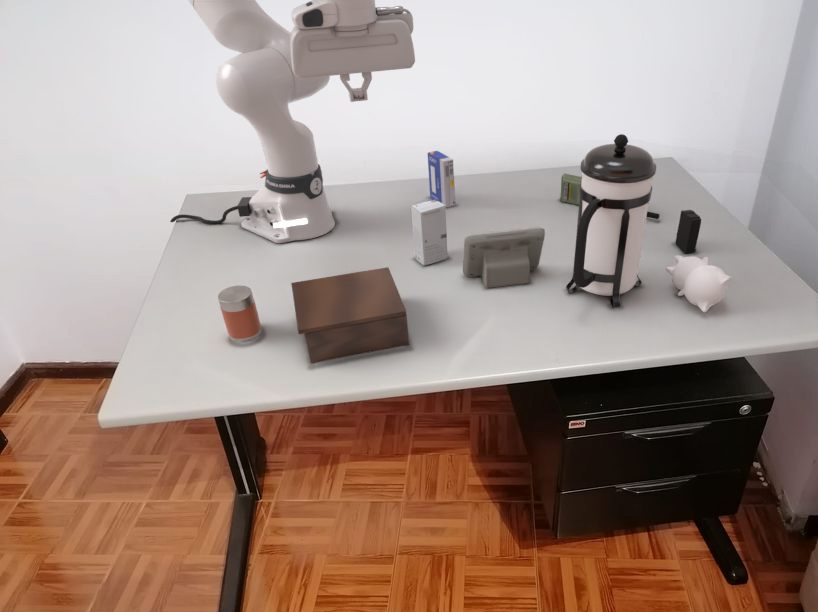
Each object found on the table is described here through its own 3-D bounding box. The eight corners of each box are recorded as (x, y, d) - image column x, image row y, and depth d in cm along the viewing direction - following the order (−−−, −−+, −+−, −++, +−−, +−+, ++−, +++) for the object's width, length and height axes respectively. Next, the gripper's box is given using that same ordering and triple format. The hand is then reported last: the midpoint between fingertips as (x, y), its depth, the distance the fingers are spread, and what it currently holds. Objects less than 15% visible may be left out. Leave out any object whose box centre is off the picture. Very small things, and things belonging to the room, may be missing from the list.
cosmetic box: (424, 266, 133) (420, 213, 126) (413, 258, 136) (409, 205, 129) (449, 258, 136) (446, 205, 129) (438, 250, 139) (435, 198, 132)
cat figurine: (680, 240, 120) (720, 267, 110) (715, 259, 125) (756, 287, 116) (653, 279, 123) (689, 309, 113) (688, 296, 128) (726, 326, 119)
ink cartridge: (695, 253, 135) (702, 218, 130) (685, 254, 135) (692, 219, 130) (684, 242, 139) (691, 208, 134) (675, 243, 139) (681, 209, 134)
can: (223, 340, 113) (210, 297, 108) (246, 324, 117) (234, 282, 112) (247, 349, 111) (234, 305, 106) (269, 332, 115) (258, 289, 110)
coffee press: (553, 272, 130) (562, 123, 112) (630, 267, 131) (651, 119, 113) (570, 318, 116) (584, 157, 98) (656, 313, 117) (686, 152, 99)
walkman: (430, 197, 162) (427, 151, 155) (439, 195, 163) (437, 149, 156) (445, 208, 157) (443, 160, 150) (455, 205, 158) (453, 158, 151)
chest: (311, 367, 106) (304, 333, 102) (303, 317, 119) (297, 285, 115) (409, 348, 110) (406, 315, 106) (392, 302, 122) (388, 270, 118)
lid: (298, 334, 102) (297, 330, 102) (292, 286, 114) (291, 282, 114) (406, 315, 106) (406, 311, 105) (388, 270, 118) (388, 266, 118)
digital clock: (540, 265, 132) (543, 218, 126) (544, 287, 125) (547, 238, 119) (463, 266, 133) (461, 219, 126) (462, 289, 126) (460, 240, 119)
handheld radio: (564, 197, 160) (660, 218, 149) (558, 202, 158) (655, 224, 147) (566, 171, 156) (665, 192, 145) (559, 176, 154) (659, 197, 143)
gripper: (407, 2, 105) (413, 89, 113) (281, 11, 101) (297, 101, 109) (416, 7, 100) (421, 98, 109) (284, 17, 96) (300, 111, 104)
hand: (358, 100), depth 109 cm, fingers closed
